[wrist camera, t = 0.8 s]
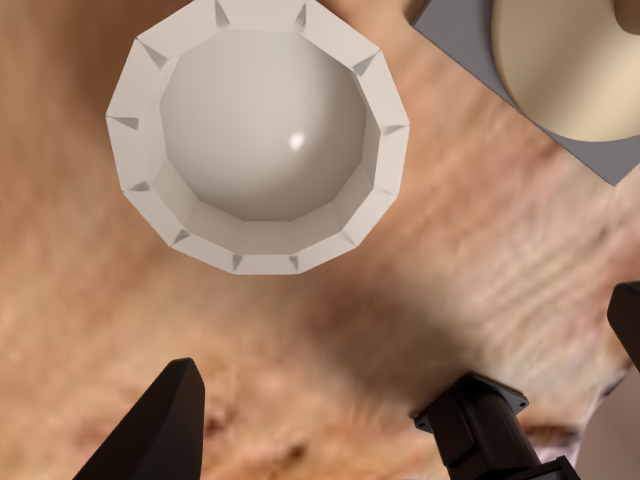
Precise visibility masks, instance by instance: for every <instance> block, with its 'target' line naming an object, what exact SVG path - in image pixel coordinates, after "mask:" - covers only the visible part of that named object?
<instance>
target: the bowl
mask: <svg viewBox="0 0 640 480" xmlns="http://www.w3.org/2000/svg"><path fill="white" fill-rule="evenodd" d="M106 115H107V116H106V117H105V118H106V122H107V127H108V132H109V136H110V141H111V145H112V150H113V155H114V159H115V164H116V168H117V173H118V177H119V182H120V187H121V191H123V194H124V195H125V196H126V198H127V199H128V200H129V201H130V202H131V203H132V204H133V206H134V207H135V208H136V209H137V210H138V211H139V212H140V214H141V215H142V216H143V217H144V218H145V219H146V221H147V222H148V223H149V224H150V225H151V226H152V227H153V229H154V230H155V231H156V232H157V233H158V234H159V235H160V237H161V238H162V239H163V240H164V241H165V242H166V243H167V245H168V246H171V248H173V249H175V250H177V251H180V252H182V253H184V254H186V255H189V256H191V257H193V258H196V259H198V260H200V261H202V262H205V263H207V264H209V265H212V266H214V267H216V268H218V269H221V270H223V271H225V272H228V273H230V274H233V272H234V275H283V274H298V273H299V274H301V273H303V272H305V271H307V270H309V269H311V268H313V267H316V266H318V265H320V264H322V263H324V262H326V261H329V260H331V259H333V258H335V257H337V256H339V255H342V254H344V253H346V252H348V251H350V250H352V249H354V248H356V246H357V247H358V246H359V244H360V243H361V242H362V241H363V239H364V238H365V237H366V236H367V234H368V233H369V232H370V231H371V229H372V228H373V227H374V225H375V224H376V223H377V222H378V220H379V219H380V218H381V217H382V215H383V214H384V213H385V212H386V210H387V209H388V208H389V207H390V205H391V204H392V203H393V202H394V200H395V199H396V198H397V197H398V196H397V195H399V189H400V183H401V177H402V171H403V165H404V159H405V153H406V148H407V142H408V136H409V130H410V125H409V124H410V123H409V120H408V118H407V115H406V112H405V110H404V107H403V105H402V102H401V100H400V97H399V94H398V92H397V89H396V87H395V84H394V82H393V79H392V77H391V74H390V71H389V69H388V66H387V64H386V61H385V59H384V56H383V53H382V51H381V50H380V48H379V47H377V46H376V45H375V44H373V43H372V42H371V41H369V40H368V39H367V38H365V37H364V36H363V35H361V34H360V33H359V32H357V31H356V30H355V29H353V28H352V27H351V26H349V25H348V24H347V23H345V22H344V21H342V20H341V19H340V18H338V17H337V16H336V15H334V14H333V13H332V12H330V11H329V10H328V9H326V8H325V7H324V6H322V5H321V4H320V3H318V2H317V1H316V0H194V1H193V2H191V3H189V4H188V5H186V6H185V7H183V8H181V9H180V10H178V11H177V12H175V13H174V14H172V15H170V16H169V17H167V18H166V19H164V20H162V21H161V22H159V23H158V24H156V25H154V26H153V27H151V28H150V29H148V30H146V31H145V32H143V33H142V34H140V35H139V36H137V38H135V40H134V43H133V45H132V48H131V50H130V53H129V55H128V58H127V61H126V63H125V66H124V68H123V71H122V73H121V76H120V79H119V81H118V84H117V86H116V89H115V91H114V94H113V97H112V99H111V102H110V104H109V107H108V109H107V112H106Z"/></svg>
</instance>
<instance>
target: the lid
mask: <svg viewBox="0 0 640 480" xmlns="http://www.w3.org/2000/svg"><path fill="white" fill-rule="evenodd" d="M491 45H492V51H493V57H494V63H495V67H496V70H497V73H498V76H499V79H500V81H501V83H502V85H503V87H504V89H505V91H506V93H507V95H508V96H509V98H510V99H511V100H512V102H513V103H514V104H515V106H516V107H517V108H518V109H519V110H520V111H521V112H522V113H523V114H524V115H525V116H526V117H528V118H529V119H531V120H532V121H534V122H535V123H537V124H538V125H540V126H542V127H544V128H546V129H547V130H549V131H551V132H554V133H556V134H558V135H560V136H563V137H566V138H570V139H574V140H579V141H589V142H601V141H613V140H619V139H625V138H629V137H632V136H636V135H639V134H640V0H493V4H492V15H491Z"/></svg>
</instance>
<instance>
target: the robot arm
mask: <svg viewBox="0 0 640 480" xmlns="http://www.w3.org/2000/svg"><path fill="white" fill-rule="evenodd" d="M607 318H608V321H609V324H610V326H611V327H612V329H613V330H614V332H615V334H616V335H617V337H618V339H619V340H620V342H621V343H622V345H623V347H624V348H625V350H626V352H627V353H628V355H629V356H630V358H631V360H632V361H633V363H634V365H635V366H636V368H637V369H638V371H639V373H640V281H638V280H634V281H628V282H623V283H619V284H617V285H616V286H615V287H614V289H613V292H612V296H611V299H610V303H609V306H608V310H607ZM528 405H529V401H528V400H527V398H526V397H525V396H523V395H521V394H518V393H516V392H514V391H512V390H509V389H507V388H505V387H503V386H500V385H498V384H496V383H494V382H491V381H489V380H487V379H485V378H482V377H480V376H478V375H476V374H473V373H469V374H466V375H465V376H463V377H462V378H461V379H460V380H459V381H458V382H457V383H455V384H454V385H453V386H452V387H451V388H450V389H449V390H448V391H446V392H445V393H444V394H443V395H442V396H441V397H440V398H438V399H437V400H436V401H435V402H434V403H433V404H432V405H430V406H429V407H428V408H427V409H426V410H425V411H424V412H422V413H421V414H420V415H419V416H418V417H417V418H416V419H415V420H414V423H415V426H416V428H418V429H420V430H423V431H426V432H429V433H431V434H433V435H434V438H435V441H436V444H437V447H438V450H439V453H440V456H441V459H442V462H443V464H444V466H446V468H447V471H448V474H449V477H450V479H451V480H581V479H580V478H579V476H578V475H577V473H576V472H575V470H574V469H573V467H572V466H571V464H570V463H569V461H568V460H567V458H566V457H565V455H563V456H560V457H557V458H556V460H553V461H550V462H547V463H544V464H542V463H541V462H540V460H539V458H538V456H537V454H536V452H535V451H534V449H533V447H532V445H531V443H530V441H529V439H528V438H527V436H526V434H525V432H524V430H523V428H522V426H521V425H520V423H519V421H518V419H517V417H516V415H517V414H518V413H519V412H521V411H522V410H523V409H524V408H526V407H527V406H528ZM204 407H205V386H204V382H203V380H202V378H201V375H200V373H199V371H198V369H197V367H196V365H195V363H194V361H193V359H192V358H188V357H187V358H181V359H176V360H172V361H171V362H170V363H169V364H168V365H167V366H166V367H165V368H164V370H163V371H162V372H161V373H160V374H159V376H158V377H157V378H156V379H155V380H154V382H153V383H152V384H151V385H150V386H149V388H148V389H147V390H146V391H145V392H144V394H143V395H142V396H141V397H140V398H139V400H138V401H137V402H136V403H135V405H134V406H133V407H132V408H131V409H130V411H129V412H128V413H127V414H126V415H125V417H124V418H123V419H122V420H121V421H120V423H119V424H118V425H117V426H116V427H115V429H114V430H113V431H112V432H111V433H110V435H109V436H108V437H107V438H106V439H105V441H104V442H103V443H102V444H101V445H100V447H99V448H98V449H97V450H96V451H95V453H94V454H93V455H92V456H91V457H90V459H89V460H88V461H87V462H86V464H85V465H84V466H83V467H82V468H81V470H80V471H79V472H78V473H77V474H76V476H75V477H74V478H73V479H72V480H200V474H201V466H202V453H203V430H204Z"/></svg>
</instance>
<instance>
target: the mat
mask: <svg viewBox="0 0 640 480" xmlns="http://www.w3.org/2000/svg"><path fill="white" fill-rule="evenodd" d="M492 4H493V0H427V1H426V2H425V4H424V5H423V7H422V8H421V10H420V11H419V13H418V14H417V16H416V17H415V19H414V20H413V22H412V23H411V25H410V26H412V27H413V28H414V29H415V30H417V31H418V32H419V33H420V34H422V35H423V36H424V37H426V38H427V39H428V40H429V41H431V42H432V43H433V44H434V45H436V46H437V47H438V48H439V49H441V50H442V51H443V52H444V53H446V54H447V55H448V56H449V57H451V58H452V59H453V60H454V61H456V62H457V63H458V64H459V65H461V66H462V67H463V68H464V69H466V70H467V71H468V72H469V73H471V74H472V75H473V76H474V77H476V78H477V79H478V80H479V81H481V82H482V83H483V84H484V85H486V86H487V87H488V88H489V89H491V90H492V91H493V92H494V93H496V94H497V95H498V96H499V97H501V98H502V99H503V100H504V101H506V102H507V103H508V104H509V105H511V106H512V107H513V108H515V109H516V110H517V111H518V112H520V113H521V114H522V115H523V116H525V115H524V114H523V113H522V112H521V111H520V110H519V109H518V108H517V107H516V106H515V104H514V103H513V102H512V100H511V99H510V98H509V96H508V95H507V93H506V91H505V89H504V87H503V85H502V83H501V81H500V79H499V76H498V73H497V70H496V67H495V63H494V57H493V51H492V45H491V15H492ZM525 117H526V116H525ZM526 118H527V119H528V120H530V121H531V122H532V123H533V124H535V125H536V126H537V127H538V128H540V129H541V130H542V131H543V132H545V133H546V134H547V135H548V136H550V137H551V138H552V139H553V140H555V141H556V142H557V143H558V144H560V145H561V146H562V147H563V148H565V149H566V150H567V151H568V152H570V153H571V154H572V155H573V156H575V157H576V158H577V159H578V160H580V161H581V162H582V163H583V164H585V165H586V166H587V167H588V168H590V169H591V170H592V171H593V172H595V173H596V174H597V175H598V176H600V177H601V178H602V179H604V180H605V181H606V182H607V183H609V184H611V185H612V186H615V185H616V184H617V183H619V182H620V181H621V180H622V179H623V178H624V177H625V176H626V175H627V174H628V173H629V172H630V171H631V170H632V169H633V168H634V167H635V166H637V165H638V164H639V163H640V134H639V135H636V136H632V137H629V138H625V139H619V140H613V141H601V142H589V141H579V140H574V139H570V138H566V137H563V136H560V135H558V134H556V133H554V132H551V131H549V130H547V129H546V128H544V127H542V126H540V125H538V124H537V123H535V122H534V121H532V120H531V119H529V118H528V117H526Z"/></svg>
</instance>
